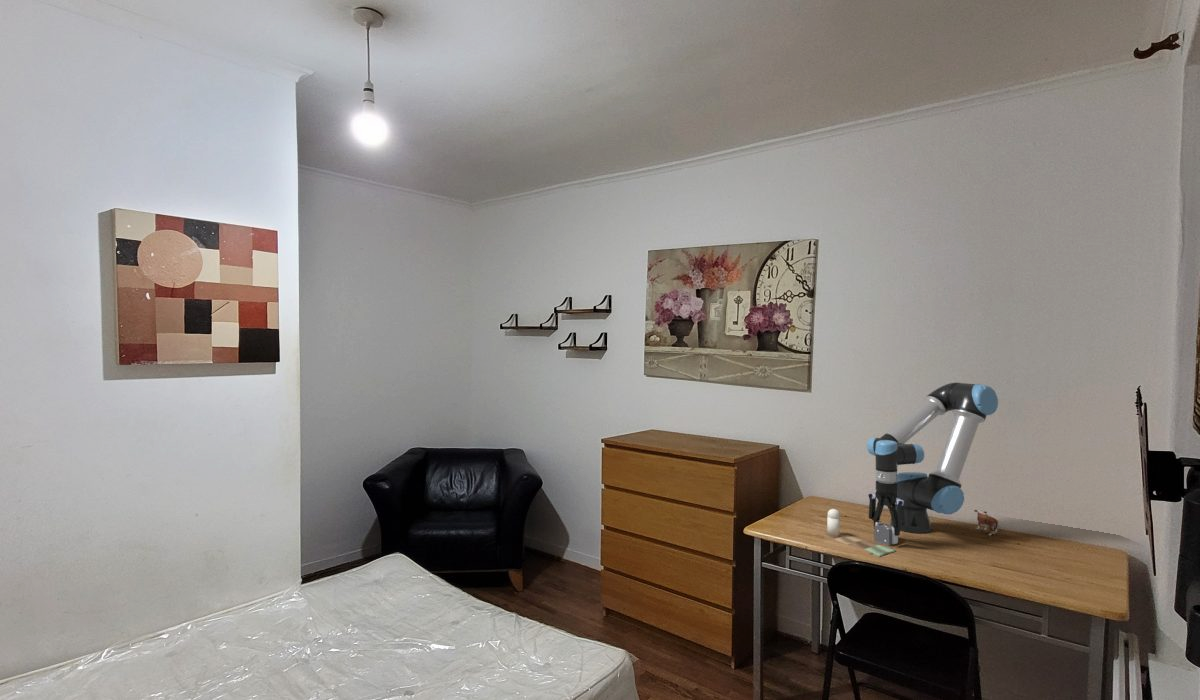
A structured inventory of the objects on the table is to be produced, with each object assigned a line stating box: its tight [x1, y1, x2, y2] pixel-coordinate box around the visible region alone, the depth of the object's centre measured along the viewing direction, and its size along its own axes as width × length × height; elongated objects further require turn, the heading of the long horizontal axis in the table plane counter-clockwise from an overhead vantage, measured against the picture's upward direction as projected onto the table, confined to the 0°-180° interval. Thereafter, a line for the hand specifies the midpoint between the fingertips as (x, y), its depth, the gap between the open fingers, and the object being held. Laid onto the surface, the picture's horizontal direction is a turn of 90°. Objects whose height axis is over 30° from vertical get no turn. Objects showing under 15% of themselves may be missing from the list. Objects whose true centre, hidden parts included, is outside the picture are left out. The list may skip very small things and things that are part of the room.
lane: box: [818, 532, 896, 557], centre depth 228 cm, size 10×26×1 cm, turn 33°
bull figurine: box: [974, 508, 999, 536], centre depth 244 cm, size 4×13×8 cm, turn 174°
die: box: [873, 523, 898, 547], centre depth 228 cm, size 6×6×6 cm
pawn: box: [826, 508, 841, 537], centre depth 236 cm, size 5×5×10 cm
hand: (886, 540), depth 228 cm, fingers closed on die, 6 cm apart
